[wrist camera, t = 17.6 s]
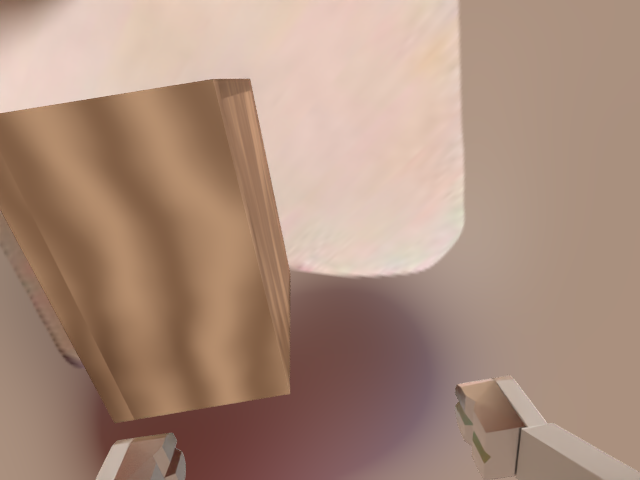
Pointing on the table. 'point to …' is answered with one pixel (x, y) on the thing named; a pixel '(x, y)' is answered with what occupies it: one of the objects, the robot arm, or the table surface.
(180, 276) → the cabinet
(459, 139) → the table surface
